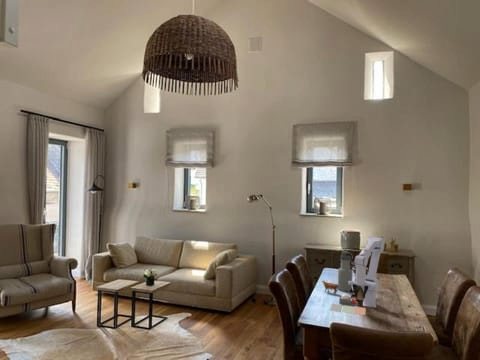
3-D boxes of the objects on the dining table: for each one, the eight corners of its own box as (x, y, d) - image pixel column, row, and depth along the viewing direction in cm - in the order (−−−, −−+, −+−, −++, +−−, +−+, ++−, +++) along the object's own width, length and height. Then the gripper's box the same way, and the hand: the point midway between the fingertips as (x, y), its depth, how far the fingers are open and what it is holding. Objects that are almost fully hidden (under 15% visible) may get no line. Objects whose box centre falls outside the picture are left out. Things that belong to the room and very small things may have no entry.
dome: (341, 299, 241) (341, 292, 241) (349, 300, 240) (349, 293, 240) (341, 302, 237) (341, 294, 237) (348, 303, 235) (348, 295, 235)
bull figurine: (322, 289, 267) (323, 278, 267) (339, 294, 257) (339, 282, 257) (319, 291, 264) (319, 279, 264) (336, 295, 254) (336, 283, 254)
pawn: (356, 297, 226) (357, 287, 226) (363, 298, 225) (363, 288, 225) (356, 299, 223) (356, 289, 223) (363, 300, 221) (363, 290, 221)
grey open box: (339, 300, 243) (340, 295, 243) (357, 303, 239) (357, 297, 239) (339, 304, 236) (339, 298, 236) (357, 306, 232) (357, 300, 232)
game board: (331, 303, 237) (331, 303, 237) (366, 308, 230) (366, 307, 230) (329, 311, 222) (329, 310, 222) (365, 316, 215) (365, 315, 215)
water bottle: (346, 287, 275) (347, 250, 275) (354, 291, 266) (355, 252, 266) (335, 288, 272) (336, 250, 272) (342, 292, 262) (343, 253, 262)
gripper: (348, 275, 222) (347, 297, 222) (373, 278, 218) (372, 301, 218) (348, 273, 229) (348, 294, 229) (373, 275, 224) (372, 297, 224)
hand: (360, 297), depth 224 cm, fingers closed on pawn, 4 cm apart
